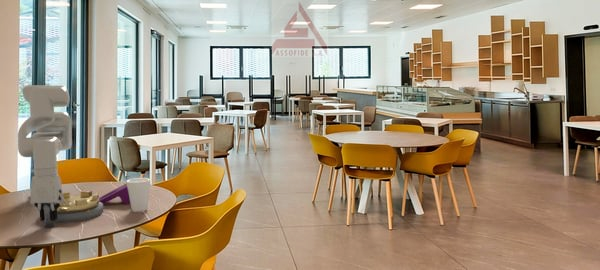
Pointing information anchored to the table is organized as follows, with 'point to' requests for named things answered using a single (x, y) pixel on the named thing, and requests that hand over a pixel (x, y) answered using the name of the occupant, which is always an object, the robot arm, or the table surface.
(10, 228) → the table surface
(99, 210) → the grey round plate
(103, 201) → the mounting bracket
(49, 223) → the pin
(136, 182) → the foam cup
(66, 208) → the brass lugged disc
